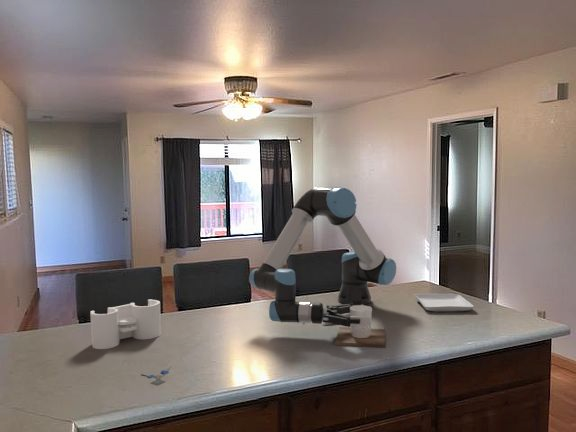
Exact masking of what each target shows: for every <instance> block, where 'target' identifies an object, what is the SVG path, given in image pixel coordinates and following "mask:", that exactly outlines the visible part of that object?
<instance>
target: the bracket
mask: <svg viewBox="0 0 576 432" xmlns="http://www.w3.org/2000/svg"><path fill="white" fill-rule="evenodd" d="M95 312H96V311H95V310H90V313H89V314H90V315H89V316H90V328H91V329H90V334H91V345H92V348H93V349H96V350H107V349H112V348H115V347H117V346H119V344H120V340H123V339H124V340H125V339H128V338H133V339H135V340H150V339H155V338H157V337H160V336H161V335H162V323H161V322H162V320H161V318H162V317H161V315H162V314H161V301H160V300H157V299H147V305H144V306H140V305H136V303H135V302H130V303H127V304H123V305H119V306H118V305H117V306H112V307H111V306H110V307H109V306H108V307H107V313H95Z"/></svg>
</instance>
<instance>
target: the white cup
mask: <svg viewBox="0 0 576 432" xmlns="http://www.w3.org/2000/svg"><path fill="white" fill-rule="evenodd" d="M372 315H373V308H372V307H369V305H365V304H364V305H353V306H351V307H350V317H351V316H360V317H370V325H354V324H351V335H352V336H353V337H356V338H367V337H369V336H370V330H371V328H372Z"/></svg>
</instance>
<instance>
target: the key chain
mask: <svg viewBox="0 0 576 432" xmlns="http://www.w3.org/2000/svg"><path fill="white" fill-rule="evenodd" d="M171 367H172V365H169V366H168V367H167V368H166V369H165V370H160V374H158V375H155V374H148V373H140V375H141V376H146V377H147V378H149V379H151V378H154V379H156V380H154V381H151V382H150V384H151V385H154V386H160V385H162V384H164V383H166V381H165V380H163V379H161V378H162V377H163V376H165V375H166V374H169V373H170V372H169V370H170V369H171ZM161 374H163V375H161Z"/></svg>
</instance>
